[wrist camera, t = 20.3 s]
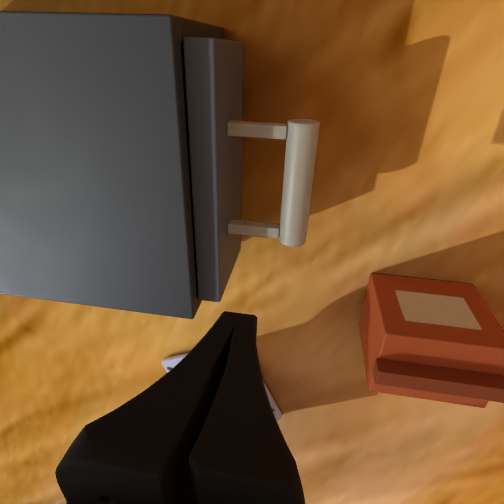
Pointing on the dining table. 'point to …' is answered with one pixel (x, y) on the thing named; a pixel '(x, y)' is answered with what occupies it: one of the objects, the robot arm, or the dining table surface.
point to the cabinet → (96, 160)
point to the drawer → (234, 162)
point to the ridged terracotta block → (431, 341)
